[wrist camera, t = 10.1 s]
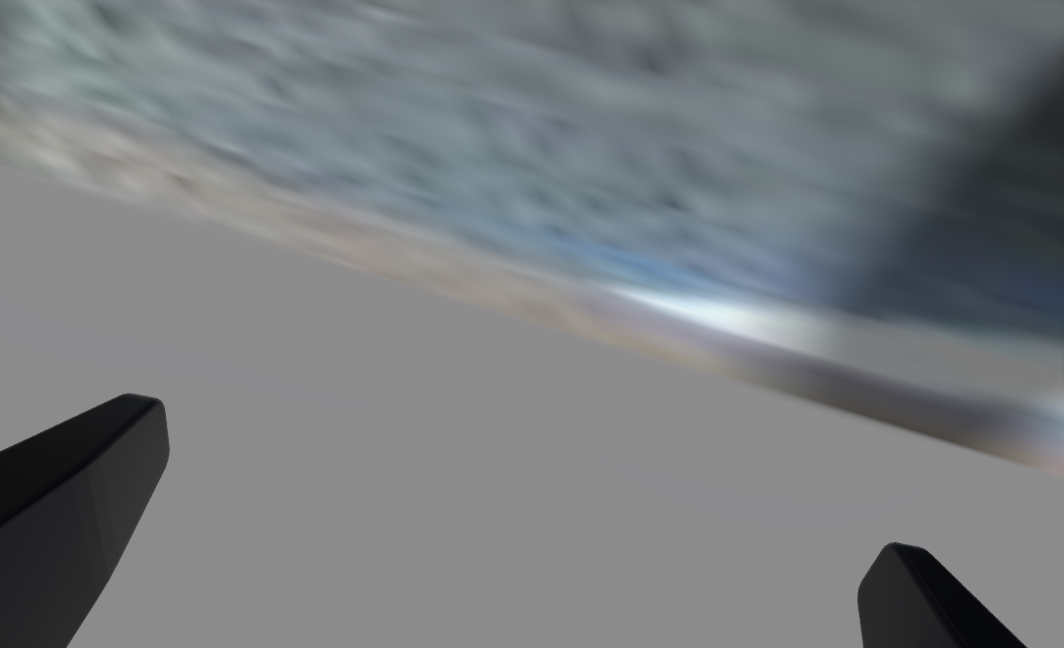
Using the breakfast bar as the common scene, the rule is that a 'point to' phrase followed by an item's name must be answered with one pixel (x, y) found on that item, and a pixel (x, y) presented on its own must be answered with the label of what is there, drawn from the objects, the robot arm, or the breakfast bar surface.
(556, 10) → the breakfast bar surface
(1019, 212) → the breakfast bar surface
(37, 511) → the robot arm
